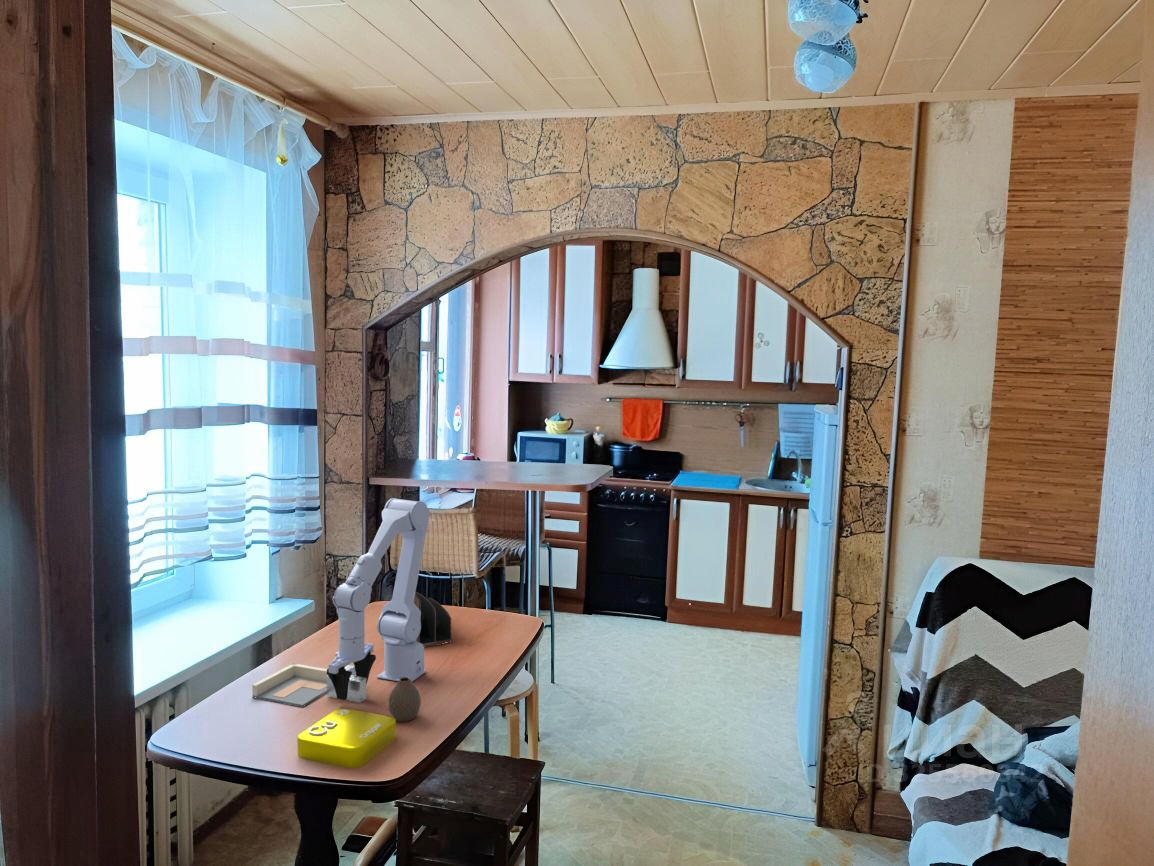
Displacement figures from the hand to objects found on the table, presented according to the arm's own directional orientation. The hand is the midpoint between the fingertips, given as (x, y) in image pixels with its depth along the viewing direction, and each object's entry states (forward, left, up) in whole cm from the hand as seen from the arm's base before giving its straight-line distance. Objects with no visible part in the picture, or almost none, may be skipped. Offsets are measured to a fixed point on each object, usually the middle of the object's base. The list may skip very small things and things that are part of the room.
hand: (352, 692), depth 179 cm
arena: (+14, +1, -2) cm, 15 cm away
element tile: (-13, +19, -2) cm, 23 cm away
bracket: (+1, -3, -1) cm, 3 cm away
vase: (-17, +4, -2) cm, 17 cm away
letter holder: (+7, -44, -2) cm, 45 cm away
